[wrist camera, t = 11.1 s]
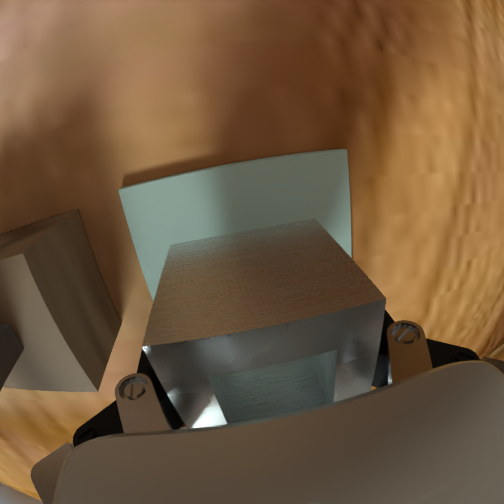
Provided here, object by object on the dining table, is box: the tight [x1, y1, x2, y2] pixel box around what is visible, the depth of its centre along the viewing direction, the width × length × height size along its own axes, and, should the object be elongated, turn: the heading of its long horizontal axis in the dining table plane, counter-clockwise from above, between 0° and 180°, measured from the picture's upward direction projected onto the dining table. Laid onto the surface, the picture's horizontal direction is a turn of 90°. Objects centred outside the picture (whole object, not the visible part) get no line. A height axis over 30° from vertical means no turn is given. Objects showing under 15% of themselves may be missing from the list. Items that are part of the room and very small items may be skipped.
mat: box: [118, 149, 351, 302], centre depth 17 cm, size 12×11×1 cm
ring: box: [142, 218, 386, 428], centre depth 11 cm, size 6×6×6 cm
